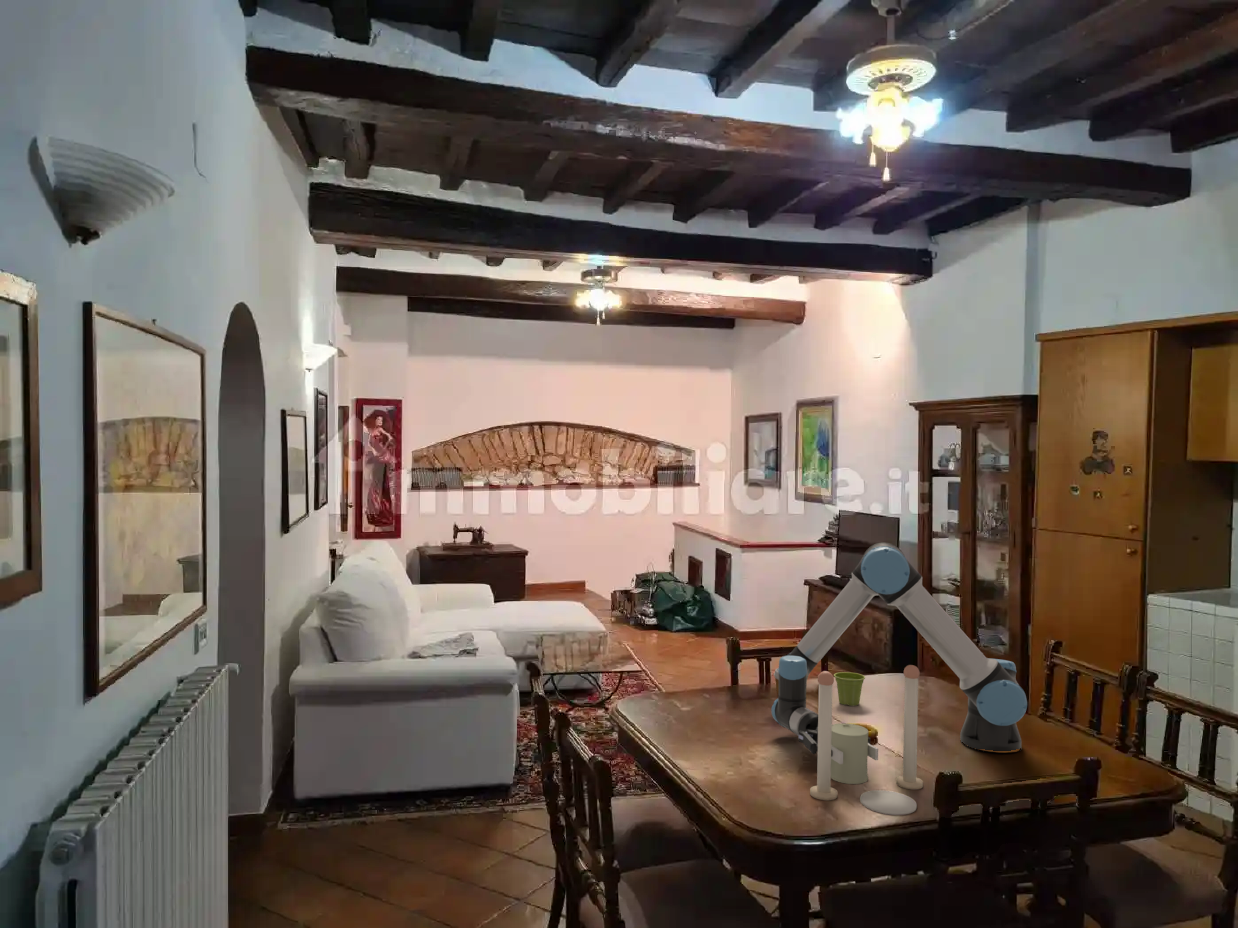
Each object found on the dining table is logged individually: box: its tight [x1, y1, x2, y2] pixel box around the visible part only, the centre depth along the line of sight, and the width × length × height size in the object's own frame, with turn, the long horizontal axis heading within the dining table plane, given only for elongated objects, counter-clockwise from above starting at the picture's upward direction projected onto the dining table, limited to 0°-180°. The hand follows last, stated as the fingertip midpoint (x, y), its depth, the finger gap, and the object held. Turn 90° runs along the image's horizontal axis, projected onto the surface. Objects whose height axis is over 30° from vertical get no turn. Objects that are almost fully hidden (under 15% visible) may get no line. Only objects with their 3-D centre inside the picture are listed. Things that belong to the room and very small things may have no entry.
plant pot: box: [833, 671, 866, 707], centre depth 265 cm, size 9×9×9 cm
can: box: [831, 722, 869, 785], centre depth 205 cm, size 9×9×12 cm
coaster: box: [859, 789, 917, 816], centre depth 189 cm, size 12×12×1 cm
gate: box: [809, 664, 924, 801], centre depth 197 cm, size 29×6×28 cm, turn 107°
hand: (859, 756), depth 200 cm, fingers closed on can, 9 cm apart
